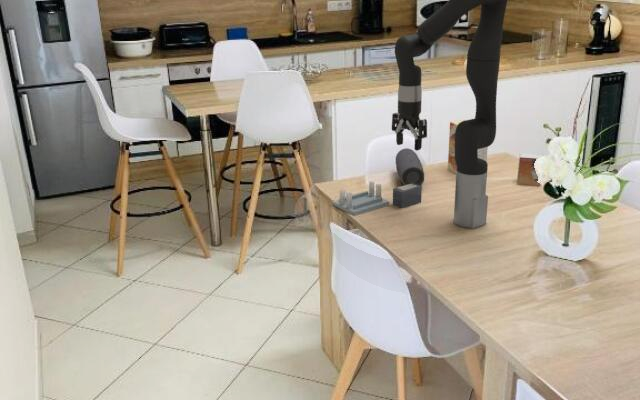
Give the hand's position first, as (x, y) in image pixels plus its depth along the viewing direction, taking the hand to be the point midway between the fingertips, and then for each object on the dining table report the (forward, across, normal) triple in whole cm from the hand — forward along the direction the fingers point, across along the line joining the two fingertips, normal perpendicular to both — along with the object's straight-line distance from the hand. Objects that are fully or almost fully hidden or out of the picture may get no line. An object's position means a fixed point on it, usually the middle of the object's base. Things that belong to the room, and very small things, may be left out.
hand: (408, 147), depth 212 cm
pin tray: (+20, +9, +13) cm, 26 cm away
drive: (+20, 0, 0) cm, 20 cm away
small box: (+20, -13, -48) cm, 54 cm away
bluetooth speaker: (+20, +16, -16) cm, 30 cm away
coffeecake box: (+20, +8, -38) cm, 44 cm away
